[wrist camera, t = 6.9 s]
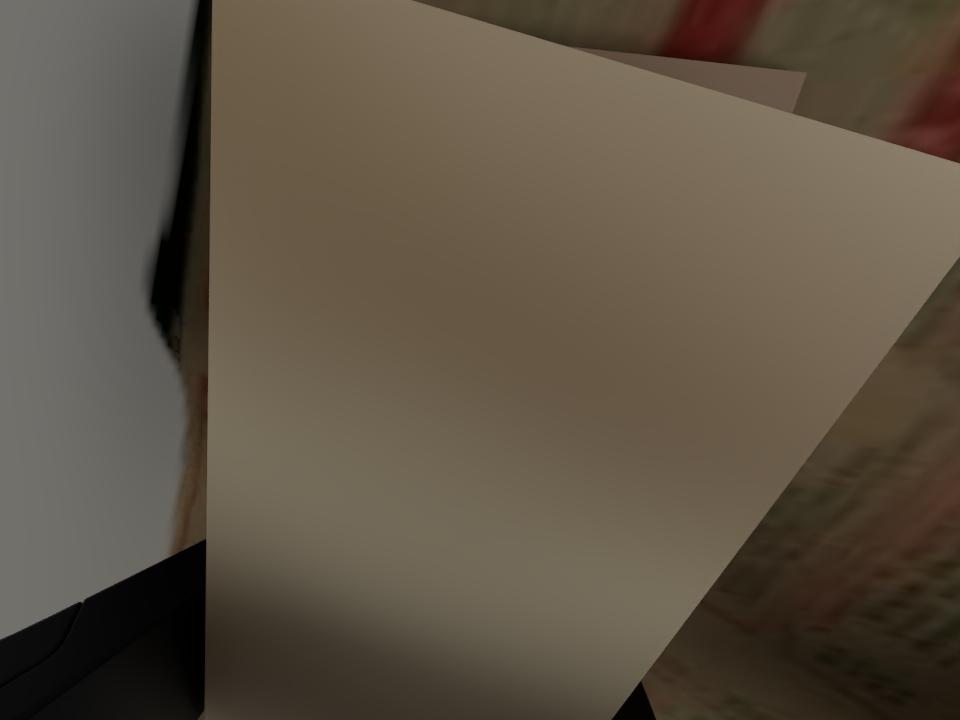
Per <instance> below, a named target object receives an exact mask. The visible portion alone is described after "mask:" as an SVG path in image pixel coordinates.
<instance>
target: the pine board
mask: <svg viewBox="0 0 960 720" xmlns="http://www.w3.org/2000/svg"><path fill="white" fill-rule="evenodd" d="M959 256H960V164H959V163H956V162H952V161H949V160H946V159H942V158H939V157H935V156H932V155H929V154H925V153H922V152H919V151H915V150H912V149H909V148H905V147H902V146H899V145H895V144H892V143H888V142H885V141H882V140H878V139H875V138H872V137H868V136H865V135H862V134H858V133H855V132H852V131H848V130H845V129H842V128H838V127H835V126H831V125H828V124H825V123H821V122H818V121H815V120H811V119H808V118H805V117H801V116H798V115H795V114H791V113H788V112H784V111H781V110H778V109H774V108H771V107H768V106H764V105H761V104H758V103H754V102H751V101H748V100H744V99H741V98H737V97H734V96H731V95H727V94H724V93H721V92H717V91H714V90H711V89H707V88H704V87H701V86H697V85H694V84H691V83H687V82H684V81H680V80H677V79H674V78H670V77H667V76H664V75H660V74H657V73H654V72H650V71H647V70H644V69H640V68H637V67H633V66H630V65H627V64H623V63H620V62H617V61H613V60H610V59H607V58H603V57H600V56H597V55H593V54H590V53H586V52H583V51H580V50H576V49H573V48H570V47H566V46H563V45H560V44H556V43H553V42H550V41H546V40H543V39H540V38H536V37H533V36H529V35H526V34H523V33H519V32H516V31H513V30H509V29H506V28H503V27H499V26H496V25H493V24H489V23H486V22H482V21H479V20H476V19H472V18H469V17H466V16H462V15H459V14H456V13H452V12H449V11H446V10H442V9H439V8H435V7H432V6H429V5H425V4H422V3H419V2H415V1H412V0H212V79H211V170H210V261H209V352H208V443H207V534H206V625H205V716H204V720H612V718H613V717H614V716H615V714H616V713H617V712H618V710H619V709H620V708H621V706H622V705H623V704H624V702H625V701H626V700H627V698H628V697H629V696H630V694H631V693H632V692H633V690H634V689H635V688H636V686H637V685H638V684H639V682H640V681H641V680H642V678H643V677H644V676H645V674H646V673H647V672H648V670H649V669H650V668H651V666H652V665H653V664H654V662H655V661H656V660H657V658H658V657H659V656H660V654H661V653H662V652H663V650H664V649H665V648H666V646H667V645H668V644H669V642H670V641H671V640H672V638H673V637H674V636H675V634H676V633H677V632H678V630H679V629H680V628H681V626H682V625H683V624H684V622H685V621H686V620H687V618H688V617H689V616H690V614H691V613H692V612H693V610H694V609H695V608H696V606H697V605H698V604H699V602H700V601H701V600H702V598H703V597H704V596H705V594H706V593H707V592H708V590H709V589H710V588H711V586H712V585H713V584H714V582H715V581H716V580H717V579H718V577H719V576H720V575H721V573H722V572H723V571H724V569H725V568H726V567H727V565H728V564H729V563H730V561H731V560H732V559H733V557H734V556H735V555H736V553H737V552H738V551H739V549H740V548H741V547H742V545H743V544H744V543H745V541H746V540H747V539H748V537H749V536H750V535H751V533H752V532H753V531H754V529H755V528H756V527H757V525H758V524H759V523H760V521H761V520H762V519H763V517H764V516H765V515H766V513H767V512H768V511H769V509H770V508H771V507H772V505H773V504H774V503H775V501H776V500H777V499H778V497H779V496H780V495H781V493H782V492H783V491H784V489H785V488H786V487H787V485H788V484H789V483H790V481H791V480H792V479H793V477H794V476H795V475H796V473H797V472H798V471H799V469H800V468H801V467H802V465H803V464H804V463H805V461H806V460H807V459H808V457H809V456H810V455H811V453H812V452H813V451H814V449H815V448H816V447H817V445H818V444H819V443H820V441H821V440H822V439H823V437H824V436H825V435H826V433H827V432H828V431H829V429H830V428H831V427H832V425H833V424H834V423H835V421H836V420H837V419H838V417H839V416H840V415H841V413H842V412H843V411H844V409H845V408H846V407H847V405H848V404H849V403H850V402H851V400H852V399H853V398H854V396H855V395H856V394H857V392H858V391H859V390H860V388H861V387H862V386H863V384H864V383H865V382H866V380H867V379H868V378H869V376H870V375H871V374H872V372H873V371H874V370H875V368H876V367H877V366H878V364H879V363H880V362H881V360H882V359H883V358H884V356H885V355H886V354H887V352H888V351H889V350H890V348H891V347H892V346H893V344H894V343H895V342H896V340H897V339H898V338H899V336H900V335H901V334H902V332H903V331H904V330H905V328H906V327H907V326H908V324H909V323H910V322H911V320H912V319H913V318H914V316H915V315H916V314H917V312H918V311H919V310H920V308H921V307H922V306H923V304H924V303H925V302H926V300H927V299H928V298H929V296H930V295H931V294H932V292H933V291H934V290H935V288H936V287H937V286H938V284H939V283H940V282H941V280H942V279H943V278H944V276H945V275H946V274H947V272H948V271H949V270H950V268H951V267H952V266H953V264H954V263H955V262H956V260H957V259H958V258H959Z"/></svg>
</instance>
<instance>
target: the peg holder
mask: <svg viewBox="0 0 960 720" xmlns="http://www.w3.org/2000/svg"><path fill="white" fill-rule="evenodd" d="M566 47H569V46H566ZM570 48H573V49H576V50H580V51H583V52H586V53H590V54H593V55H597V56H600V57H603V58H607V59H610V60H613V61H617V62H620V63H623V64H627V65H630V66H633V67H637V68H640V69H644V70H647V71H650V72H654V73H657V74H660V75H664V76H667V77H670V78H674V79H677V80H680V81H684V82H687V83H691V84H694V85H697V86H701V87H704V88H707V89H711V90H714V91H717V92H721V93H724V94H727V95H731V96H734V97H737V98H741V99H744V100H748V101H751V102H754V103H758V104H761V105H764V106H768V107H771V108H774V109H778V110H781V111H784V112H788V113H791V114H792V113H793V110H794V108H795V105H796V102H797V99H798V96H799V94H800V91H801V88H802V85H803V82H804V80H805V77H806V74H807V73H804V72H795V71H786V70H777V69H768V68H759V67H750V66H741V65H732V64H723V63H714V62H705V61H696V60H686V59H677V58H668V57H659V56H650V55H641V54H632V53H623V52H614V51H605V50H596V49H587V48H578V47H570Z"/></svg>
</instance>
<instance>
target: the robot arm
mask: <svg viewBox="0 0 960 720" xmlns="http://www.w3.org/2000/svg"><path fill="white" fill-rule="evenodd" d="M205 625H206V539H205V540H203V541H201V542H199V543H197V544H195V545H193V546H191V547H189V548H187V549H185V550H183V551H181V552H179V553H177V554H175V555H173V556H171V557H169V558H167V559H165V560H163V561H161V562H159V563H157V564H155V565H153V566H151V567H149V568H147V569H145V570H143V571H141V572H139V573H137V574H135V575H133V576H131V577H129V578H127V579H125V580H123V581H121V582H119V583H117V584H114V585H113V586H111V587H108V588H106V589H104V590H102V591H100V592H98V593H96V594H94V595H92V596H90V597H88V598H86V599H85V600H84V602H83V603H82V602H78V603H76V604H74V605H72V606H70V607H68V608H66V609H64V610H62V611H60V612H58V613H56V614H54V615H52V616H50V617H48V618H46V619H43V620H42V621H39V622H37V623H35V624H33V625H31V626H29V627H27V628H25V629H23V630H21V631H18V632H16V633H14V634H12V635H10V636H7V637H5V638H3V639H1V640H0V720H197V719H198V718H199V717H200V715H201V714H202V712H203V711H204V709H205ZM612 720H656V718H655V715H654V713H653V710H652V708H651V705H650V702H649V700H648V697H647V695H646V692H645V690H644V687H643V684H642V682H641V681H640V682H639V684H638V685H637V686H636V688H635V689H634V690H633V692H632V693H631V694H630V696H629V697H628V698H627V700H626V701H625V702H624V704H623V705H622V706H621V708H620V709H619V710H618V712H617V713H616V714H615V716H614V717H613V718H612Z"/></svg>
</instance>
